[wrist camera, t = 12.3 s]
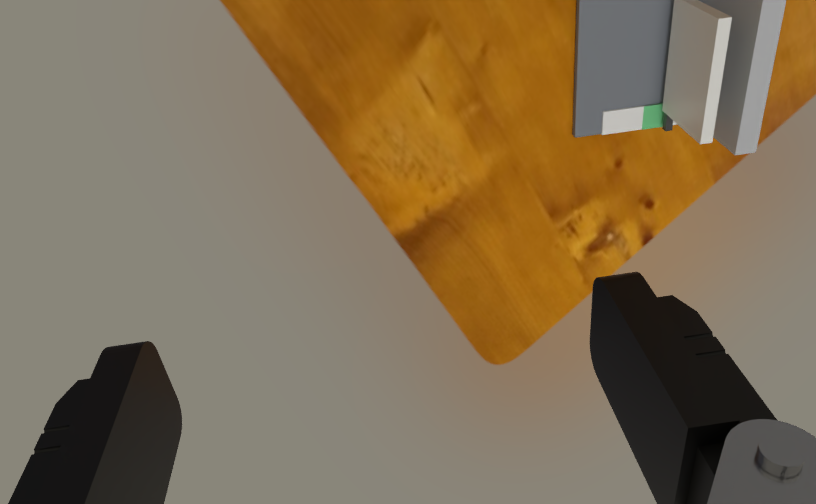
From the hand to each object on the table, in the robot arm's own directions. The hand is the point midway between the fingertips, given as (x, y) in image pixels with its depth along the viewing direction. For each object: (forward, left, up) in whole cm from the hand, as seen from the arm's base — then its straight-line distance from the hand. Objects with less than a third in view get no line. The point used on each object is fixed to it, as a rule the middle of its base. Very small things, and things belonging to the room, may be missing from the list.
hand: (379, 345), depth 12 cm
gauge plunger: (+9, +22, -35) cm, 42 cm away
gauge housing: (+8, +20, -36) cm, 42 cm away
